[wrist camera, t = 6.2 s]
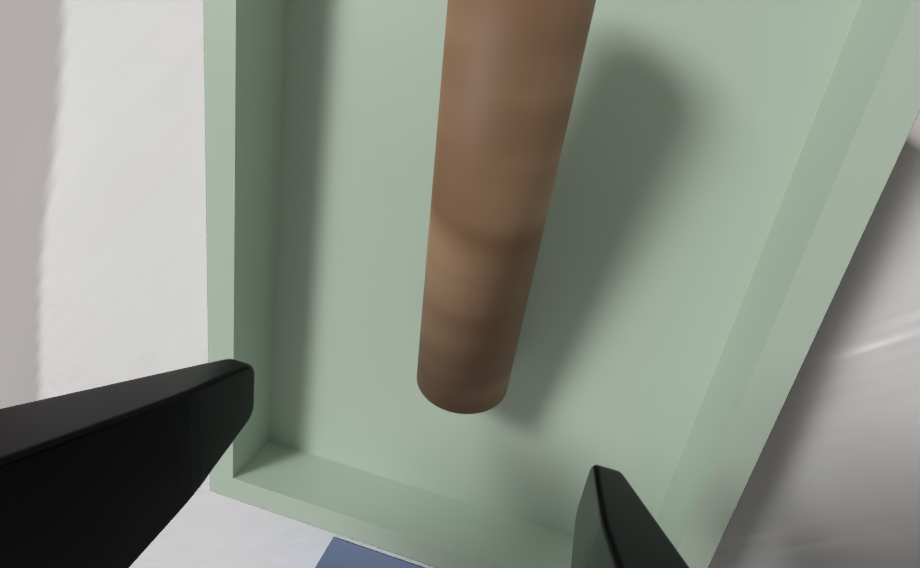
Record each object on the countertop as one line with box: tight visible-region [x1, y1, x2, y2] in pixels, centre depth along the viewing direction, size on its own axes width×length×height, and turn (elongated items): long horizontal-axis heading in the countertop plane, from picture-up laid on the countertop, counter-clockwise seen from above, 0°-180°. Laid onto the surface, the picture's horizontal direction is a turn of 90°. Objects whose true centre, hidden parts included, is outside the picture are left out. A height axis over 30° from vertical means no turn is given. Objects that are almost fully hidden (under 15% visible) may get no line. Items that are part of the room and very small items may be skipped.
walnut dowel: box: [417, 0, 596, 414], centre depth 10 cm, size 2×6×10 cm
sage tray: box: [203, 0, 920, 568], centre depth 12 cm, size 14×22×2 cm, turn 170°
